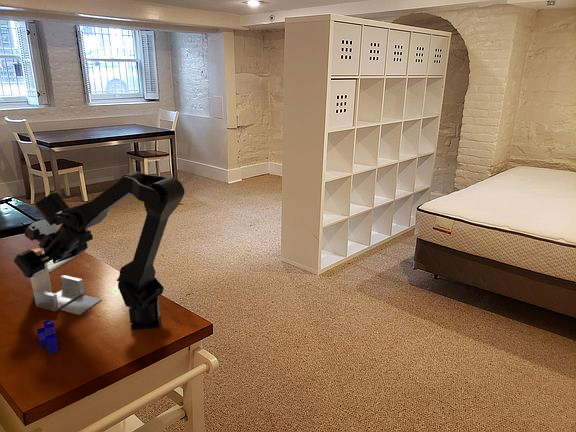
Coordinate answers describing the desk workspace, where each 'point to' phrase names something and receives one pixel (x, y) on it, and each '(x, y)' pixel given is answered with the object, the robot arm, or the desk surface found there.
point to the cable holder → (48, 337)
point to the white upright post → (41, 276)
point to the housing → (60, 294)
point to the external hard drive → (57, 264)
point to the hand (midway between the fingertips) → (39, 268)
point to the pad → (81, 304)
